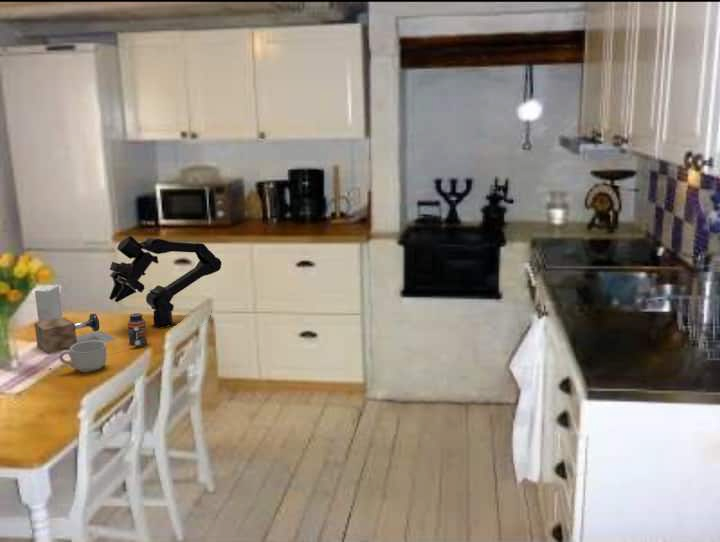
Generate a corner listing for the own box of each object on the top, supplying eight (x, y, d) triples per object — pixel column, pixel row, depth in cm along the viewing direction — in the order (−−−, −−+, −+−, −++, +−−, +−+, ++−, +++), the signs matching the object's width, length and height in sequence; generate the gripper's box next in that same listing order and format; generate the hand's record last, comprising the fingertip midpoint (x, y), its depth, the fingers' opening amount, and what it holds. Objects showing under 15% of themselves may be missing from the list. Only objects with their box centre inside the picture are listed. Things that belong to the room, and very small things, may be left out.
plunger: (93, 328, 248) (91, 311, 246) (100, 332, 243) (98, 315, 242) (63, 335, 241) (61, 317, 240) (69, 339, 236) (67, 321, 235)
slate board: (101, 333, 254) (100, 330, 254) (116, 342, 243) (116, 339, 243) (36, 347, 240) (35, 345, 239) (49, 357, 228) (48, 355, 228)
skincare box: (49, 320, 273) (45, 285, 270) (64, 320, 273) (59, 284, 270) (38, 327, 265) (33, 290, 262) (53, 327, 265) (48, 290, 261)
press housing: (67, 339, 244) (64, 317, 242) (77, 346, 236) (74, 323, 234) (37, 346, 238) (34, 323, 236) (47, 353, 230) (43, 329, 228)
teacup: (108, 361, 223) (105, 338, 222) (108, 372, 213) (106, 347, 212) (62, 367, 218) (59, 344, 217) (60, 379, 209) (57, 354, 207)
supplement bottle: (142, 348, 235) (138, 317, 233) (126, 348, 236) (123, 316, 234) (150, 343, 241) (147, 312, 238) (135, 342, 242) (132, 312, 240)
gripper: (112, 250, 254) (86, 283, 250) (132, 256, 240) (105, 292, 236) (135, 267, 261) (109, 300, 256) (155, 274, 247) (129, 309, 242)
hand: (112, 300), depth 248 cm, fingers open, 5 cm apart
